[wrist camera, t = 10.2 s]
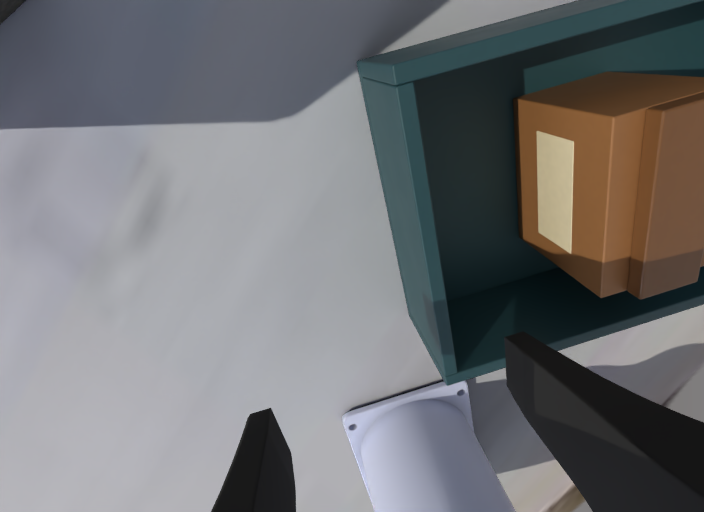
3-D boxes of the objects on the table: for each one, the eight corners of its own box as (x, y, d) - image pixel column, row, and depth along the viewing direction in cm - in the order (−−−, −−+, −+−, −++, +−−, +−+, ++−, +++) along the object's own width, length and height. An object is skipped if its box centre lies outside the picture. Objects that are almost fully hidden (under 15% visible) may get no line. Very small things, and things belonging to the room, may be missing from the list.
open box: (691, 228, 24) (799, 274, 19) (409, 316, 23) (446, 387, 18) (740, -44, 18) (920, -81, 13) (355, 60, 17) (391, 65, 12)
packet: (607, 70, 18) (770, 80, 12) (599, 213, 22) (723, 274, 16) (511, 98, 18) (630, 120, 12) (517, 237, 21) (613, 309, 15)
